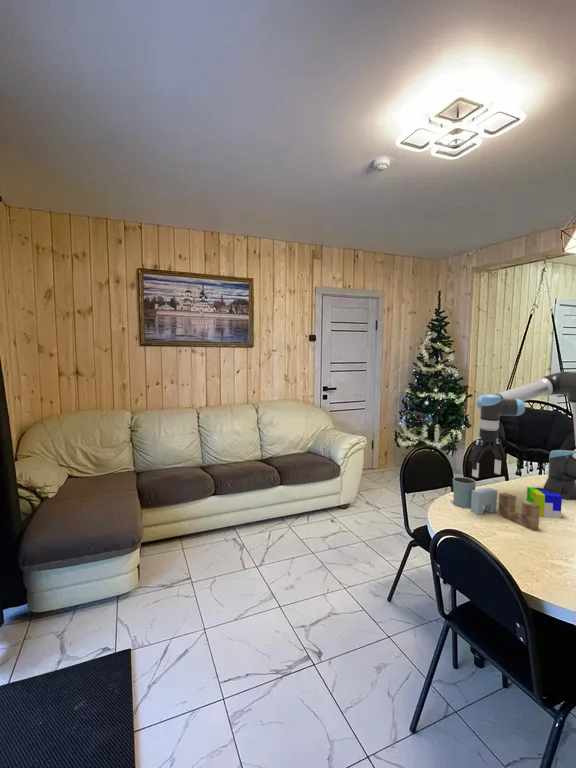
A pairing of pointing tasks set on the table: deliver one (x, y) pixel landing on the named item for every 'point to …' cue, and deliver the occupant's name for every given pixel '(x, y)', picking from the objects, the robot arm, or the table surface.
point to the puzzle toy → (545, 501)
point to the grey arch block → (483, 500)
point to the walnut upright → (525, 518)
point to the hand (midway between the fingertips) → (486, 475)
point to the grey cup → (463, 491)
